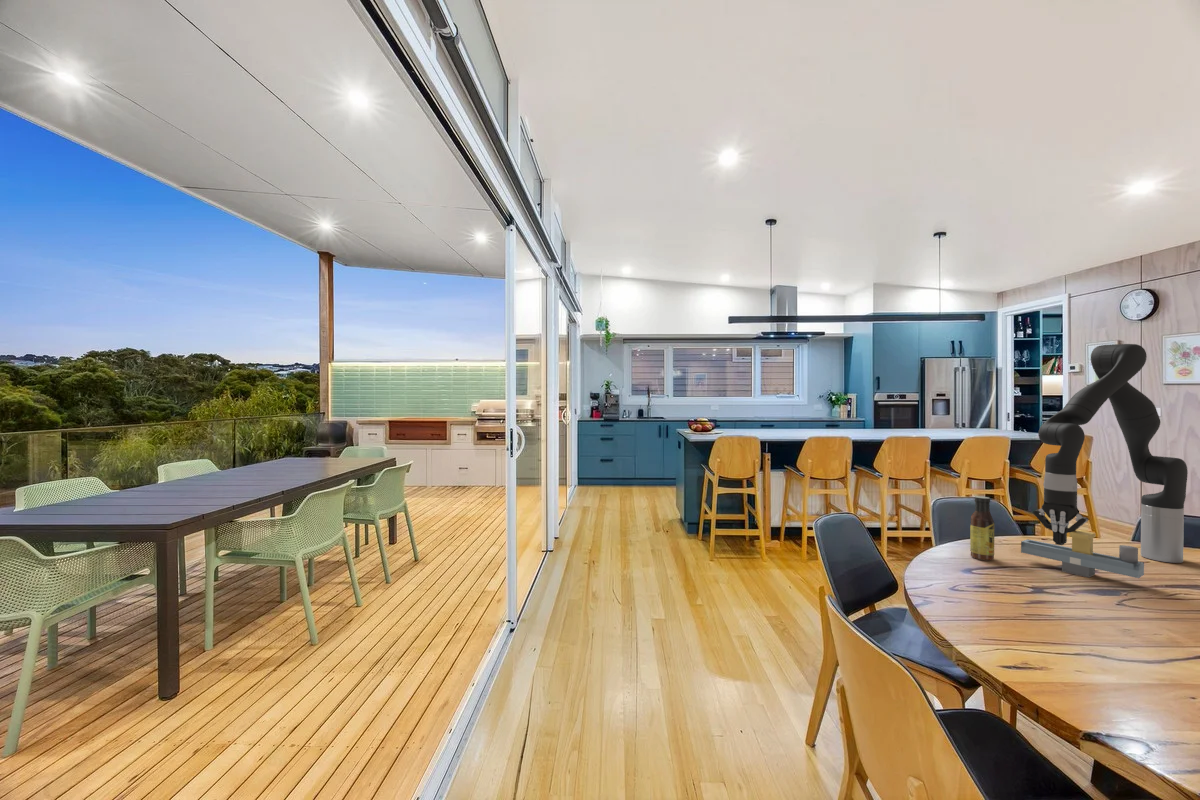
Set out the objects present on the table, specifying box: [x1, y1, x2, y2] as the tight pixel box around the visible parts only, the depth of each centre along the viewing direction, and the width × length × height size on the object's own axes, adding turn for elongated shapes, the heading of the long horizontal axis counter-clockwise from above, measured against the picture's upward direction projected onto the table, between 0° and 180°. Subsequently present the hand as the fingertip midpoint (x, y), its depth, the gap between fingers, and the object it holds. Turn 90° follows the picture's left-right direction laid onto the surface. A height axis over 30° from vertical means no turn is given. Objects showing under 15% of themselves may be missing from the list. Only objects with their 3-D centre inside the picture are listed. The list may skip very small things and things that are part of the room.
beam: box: [1020, 538, 1145, 579], centre depth 149 cm, size 26×5×10 cm, turn 31°
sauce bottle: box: [969, 495, 995, 561], centre depth 162 cm, size 6×6×20 cm
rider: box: [1069, 529, 1096, 555], centre depth 148 cm, size 4×6×7 cm, turn 121°
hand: (1059, 544), depth 153 cm, fingers closed
